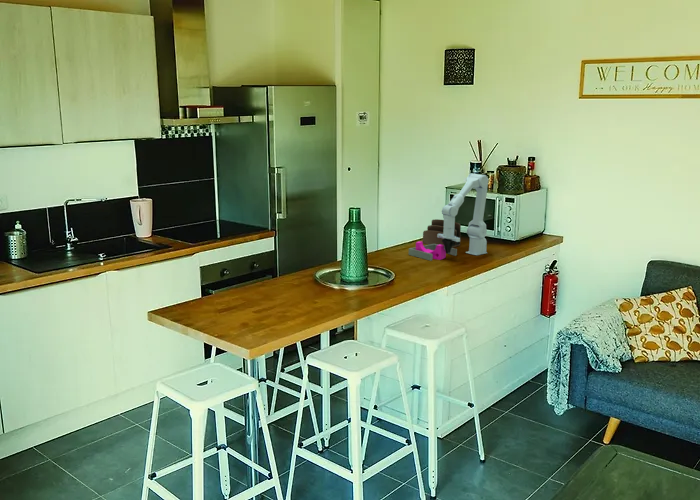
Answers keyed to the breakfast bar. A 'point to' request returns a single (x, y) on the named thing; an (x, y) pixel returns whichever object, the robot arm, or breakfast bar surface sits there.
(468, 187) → the robot arm
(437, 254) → the toy block
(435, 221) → the letter holder
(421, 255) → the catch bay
